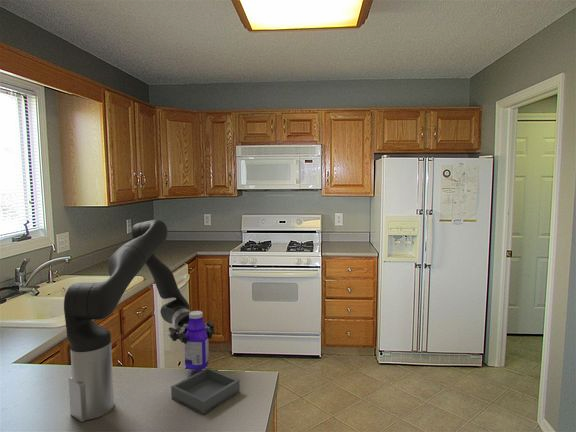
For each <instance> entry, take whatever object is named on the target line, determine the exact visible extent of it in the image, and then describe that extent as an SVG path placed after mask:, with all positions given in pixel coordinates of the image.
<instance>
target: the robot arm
mask: <svg viewBox="0 0 576 432" xmlns="http://www.w3.org/2000/svg"><path fill="white" fill-rule="evenodd" d="M131 237H132V239H131V240H129V241H127V242H126V243H124V244H123V245H121V246H119V247H118V249H116V251H115V252H114V253H113V254H112V255H110V257H109V259H108V261H107V270H108V271H107V272H108V274H109V277H108V278H107V280H104V281H101V282H75V283H73V284H71V285H70V286H69V287H68V288H67V290H66V292H65V294H64V299H63V311H64V321H65V322H64V323H65V327H66V329H65V330H66V337H67V341H68V342H69V347H70V364H71V366H70V367H71V376H70V377H69V378H68V392H69V393H68V394H69V410H70V412H69V413H70V415H71V416H73V417H74V418H75V419H77V420H78V421H80V423H81V422H82V423H83V422H85V421H88V420H92V419H97V418H100V417H102V416H105V415H106V414H108V413H109V412H111V411H112V410H113V409H114V406H115V399H114V398H115V395H114V376H113V375H114V372H113V358H112V357H113V356H112V355H113V354H112V353H113V352H112V335H111V330H109V329H108V328H107V327H103V326H101V325H99V324H97V323H96V322H95V321H97V320H104V319H107V318H108V317H110V315H112V313H114V311H115V309H116V308H117V305H119V302H120V301H121V298H122V296H123V295H124V293H125V291H126V290H127V288H128V287H129V286H130V284H131V282H132V281H133V280H134V278H135V277H136V276H137V275H138V273H140V272H141V270H142V268H143V267H144V266H145V265H146V267H147V268H148V271H149V272H150V274H151V276H152V278H153V281H154V284H155V286H156V288H157V289H156V290H157V292H158V294H159V297H160V298H161V299H164V300H166V299H167V300H168V299H171V298H174V299H173V300H171V301H168V302H167V303H164V304H163V305H162V306H161V308H160V311H159V312H160V316H161V318H162V319H163V321H165V322H166V323H168V324H171V325H173V327H169V328H168V336H169V338H170V339H171V341H173V342H177V340H178V341H180V342H181V343H183V344H184V345H185V344H186V343H187V336H186V335H185V334H186V332H187V330H188V329H187V325H188V323H189V313H190V312H192V311H191V310H190V304H189V302H188V301H187V299H186V298H185V297H184V296H183V294H182V293H181V290H179V287H178V285H177V281H176V279H175V276H174V273H173V272H172V270H171V269H170V268H169V267H168V266H167V265H166V264H165V263H164V262H162V261H161V259H159V258H158V257H157V255H155V252H156V251H157V250H158V249H159V248H160V247H162V245H163V244H164V243H165V242H166V240H167V237H168V228H167V225H166V223H165V222H164V221H163V220H160V219H151V220H147V221H141V222H138V223H135V224H133V226H132V228H131ZM93 320H95V321H93ZM205 325H206V327H205V330H206V331H207V333H208V340H210V339H212V337H213V334H215V325H214V323H213V322H212V320H207V321H206V323H205Z"/></svg>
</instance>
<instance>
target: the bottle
mask: <svg viewBox="0 0 576 432" xmlns="http://www.w3.org/2000/svg"><path fill="white" fill-rule="evenodd" d="M203 315H204V314H203V311H201V310H193V311H191V312H190V313H189V323H188V325H187V329H188V330H187V332H186V334H185V335H186V336H187V343H186V344H184V365H185V366H184V367H185V368H186V369H187V370H189V371H191V370H192V371H203V370H204V369H206V367H207V366H208V364H209V362H210V361H209V358H210V357H209V349H210V348H209V339H208V333H207V331H206V329H205V327H206V325H205V324H206V323H205V321H204V318H203V317H204V316H203ZM207 368H208V367H207Z"/></svg>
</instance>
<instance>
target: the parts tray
mask: <svg viewBox="0 0 576 432" xmlns="http://www.w3.org/2000/svg"><path fill="white" fill-rule="evenodd" d="M240 387H241V385H240V379H237V378H235V377H234V376H233V377H232V376H230V375H227V374H225V373H222V372H221V371H220V372H219V371H217V370H215V369H212V368H209V367H207V368H206V367H205V368H204V369H203V370H200V371H199V372H197V373H195V374H193V375H191V376H189V377H186V378H185V379H183V380H181V381H180V382H177V383H175V384H174V385H171V386H170V389H171V390H170V392H171V400H172V401H175V402H176V403H179V404H180V405H183V406H184V407H187V409H191V410H192V411H194V412H196V413H199V414H200V415H203V416H205V415H207V414H208V413H210V412H211V411H213V410H214V409H216V408H217V407H219V406H221V405H222V404H224V403H226V402H227V401H229V400H231V399H232V398H233V397H235V396H236V395H238V394H240V393H241V392H240V391H241V388H240Z"/></svg>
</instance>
